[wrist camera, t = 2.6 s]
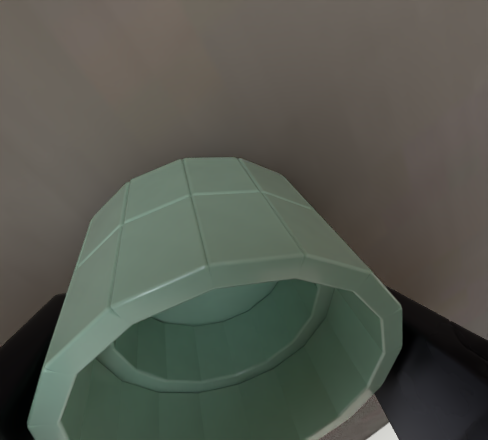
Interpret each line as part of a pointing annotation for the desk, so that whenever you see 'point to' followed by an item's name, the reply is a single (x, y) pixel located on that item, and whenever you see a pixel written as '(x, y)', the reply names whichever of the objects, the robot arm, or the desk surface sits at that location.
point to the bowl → (214, 316)
